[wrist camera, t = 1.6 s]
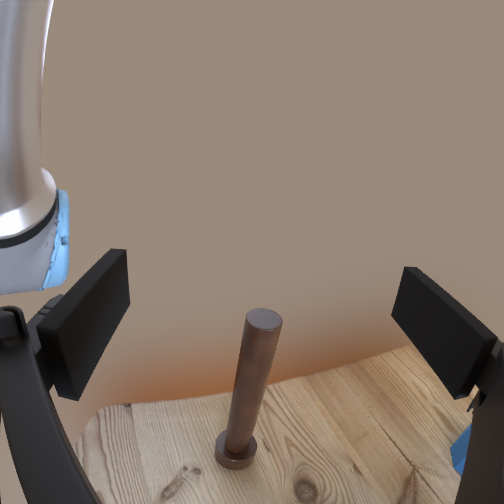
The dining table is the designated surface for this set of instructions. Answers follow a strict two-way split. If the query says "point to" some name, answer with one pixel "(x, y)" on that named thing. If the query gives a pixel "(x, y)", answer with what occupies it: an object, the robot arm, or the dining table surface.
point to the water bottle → (460, 450)
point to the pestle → (249, 388)
